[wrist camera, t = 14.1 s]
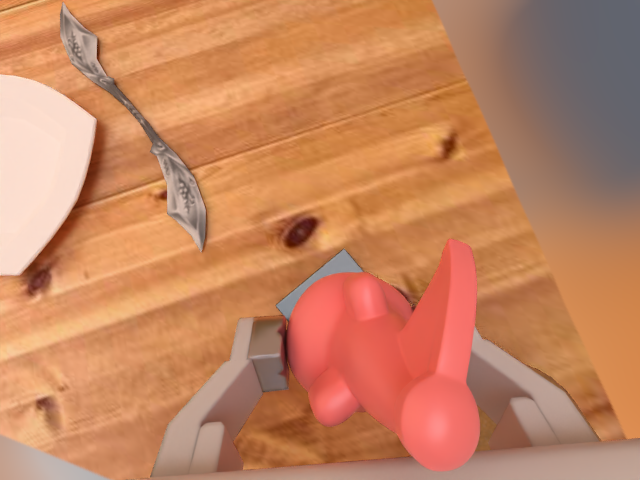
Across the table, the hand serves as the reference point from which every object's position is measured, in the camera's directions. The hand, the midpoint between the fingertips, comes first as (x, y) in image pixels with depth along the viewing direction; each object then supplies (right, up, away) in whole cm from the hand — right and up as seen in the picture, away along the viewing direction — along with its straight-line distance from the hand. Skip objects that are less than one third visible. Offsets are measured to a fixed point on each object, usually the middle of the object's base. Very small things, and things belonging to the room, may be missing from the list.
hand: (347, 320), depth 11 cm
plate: (-32, +9, +20) cm, 39 cm away
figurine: (0, -2, +8) cm, 9 cm away
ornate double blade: (-20, +15, +21) cm, 33 cm away
